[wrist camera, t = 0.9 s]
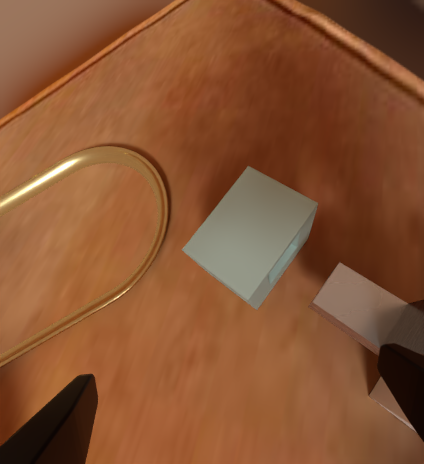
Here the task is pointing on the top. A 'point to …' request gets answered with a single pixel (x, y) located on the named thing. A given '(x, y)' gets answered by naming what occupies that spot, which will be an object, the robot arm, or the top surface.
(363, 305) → the grey bridging bar
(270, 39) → the top surface
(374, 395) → the sleeve
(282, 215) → the socket block
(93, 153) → the serving platter
